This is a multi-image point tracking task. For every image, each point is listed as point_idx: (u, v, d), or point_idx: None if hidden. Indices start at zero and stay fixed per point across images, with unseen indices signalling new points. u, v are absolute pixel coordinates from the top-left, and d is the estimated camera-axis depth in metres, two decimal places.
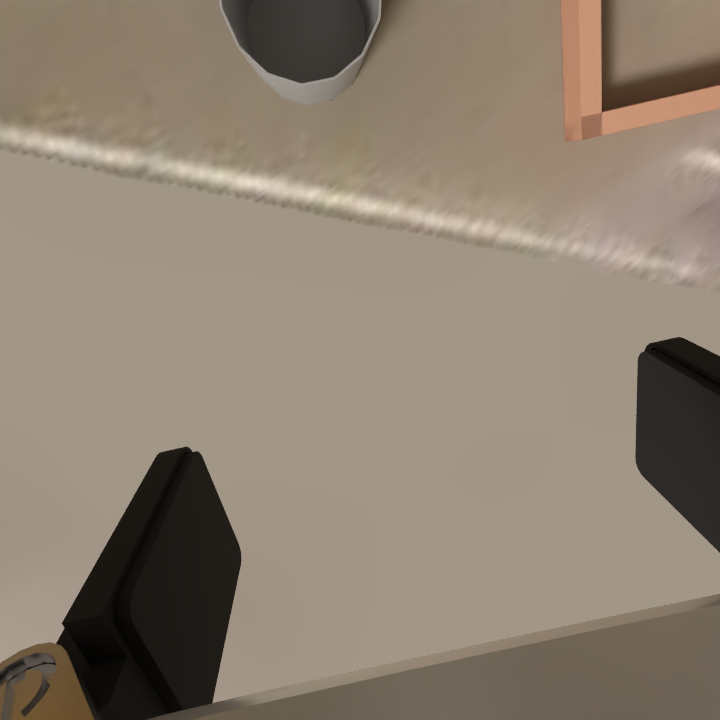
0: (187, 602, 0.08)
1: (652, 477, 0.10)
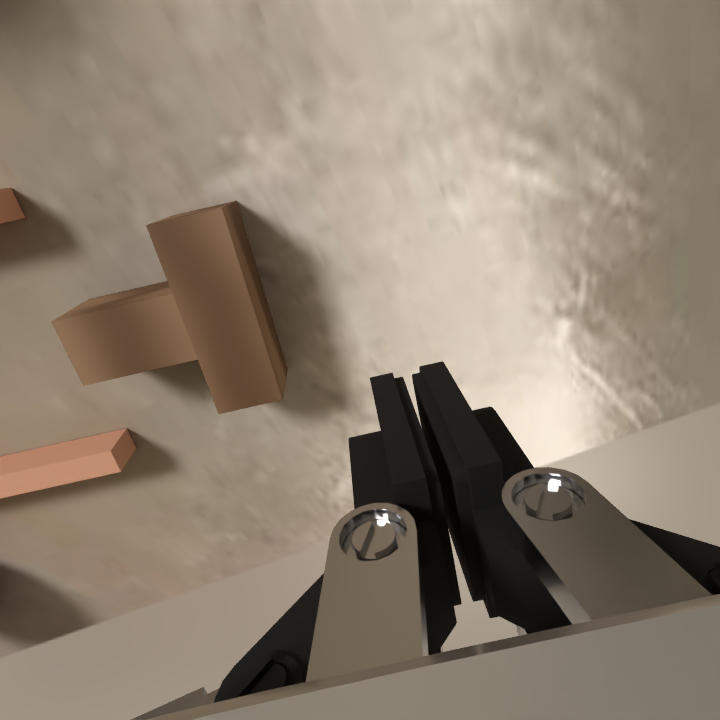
0: None
1: None
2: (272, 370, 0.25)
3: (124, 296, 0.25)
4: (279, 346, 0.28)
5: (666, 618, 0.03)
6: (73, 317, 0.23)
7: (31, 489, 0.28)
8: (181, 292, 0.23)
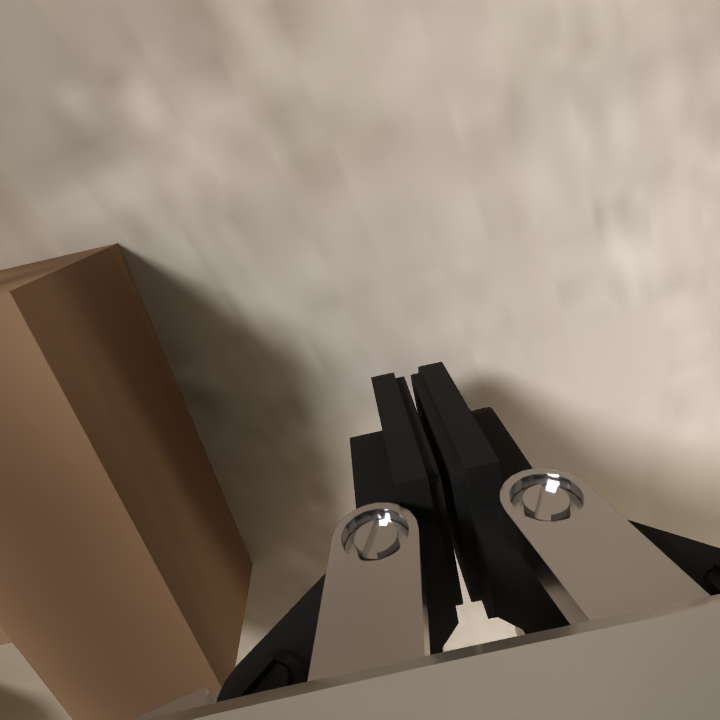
0: None
1: None
2: (201, 652, 0.10)
3: None
4: (233, 531, 0.14)
5: (666, 618, 0.03)
6: None
7: None
8: None
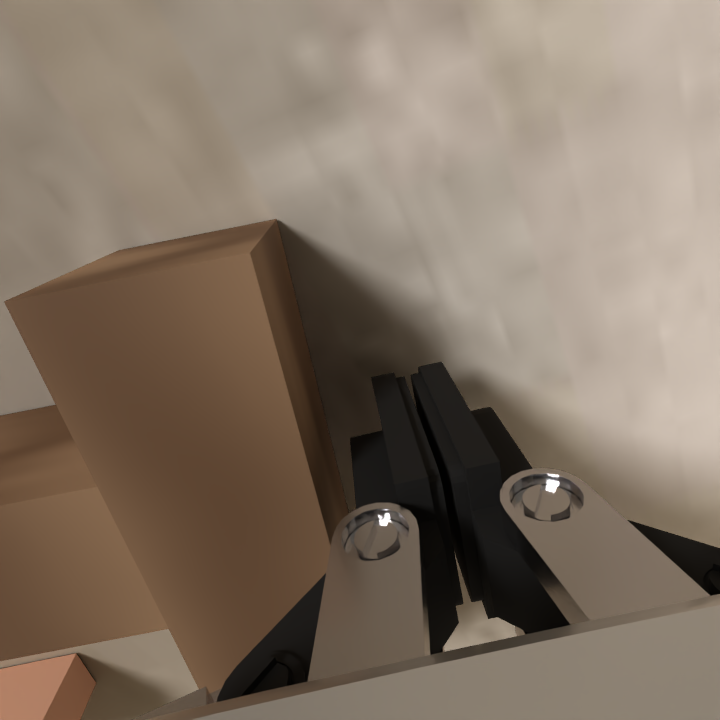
0: None
1: None
2: None
3: None
4: None
5: (666, 618, 0.03)
6: None
7: None
8: (123, 482, 0.08)
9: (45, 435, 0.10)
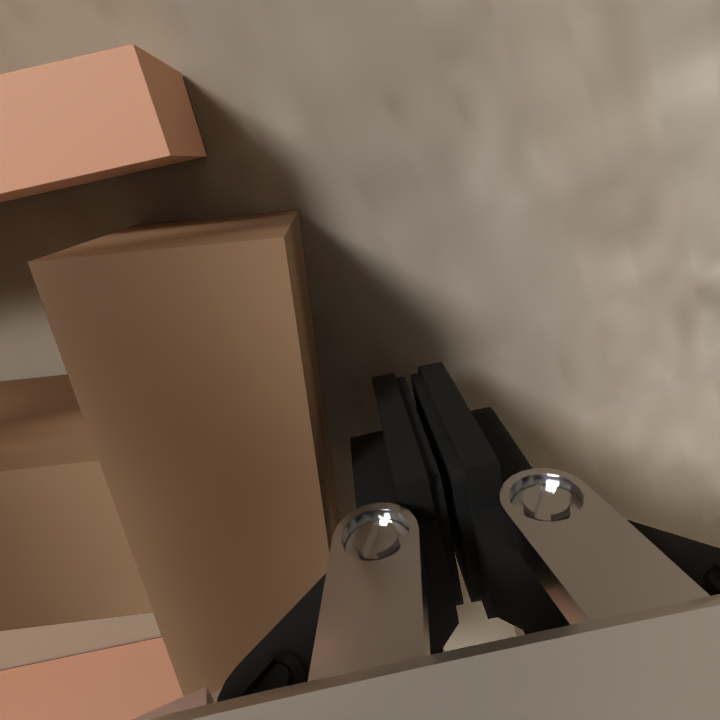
0: None
1: None
2: None
3: None
4: (337, 521, 0.13)
5: (666, 618, 0.03)
6: None
7: None
8: (125, 458, 0.08)
9: (41, 405, 0.10)
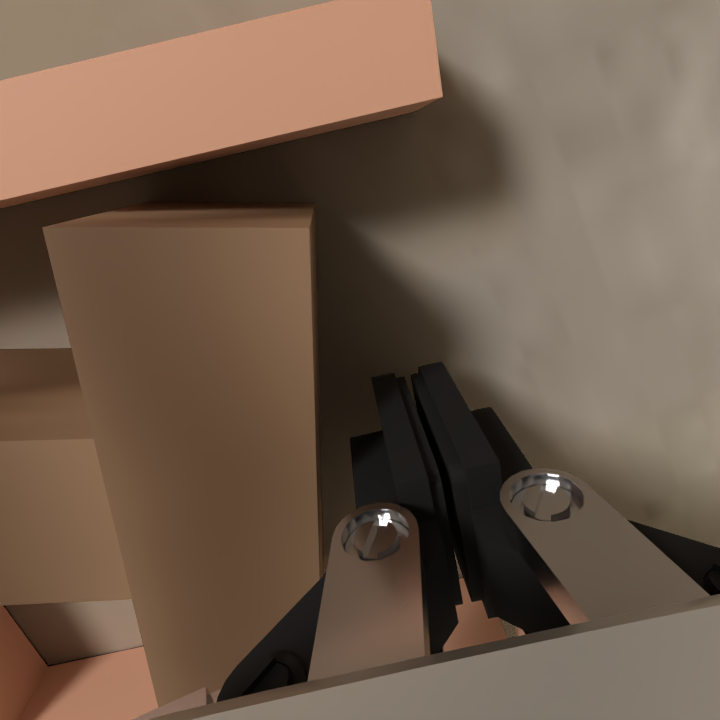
0: None
1: None
2: None
3: None
4: (322, 520, 0.13)
5: (666, 618, 0.03)
6: None
7: None
8: (121, 439, 0.08)
9: (33, 377, 0.10)
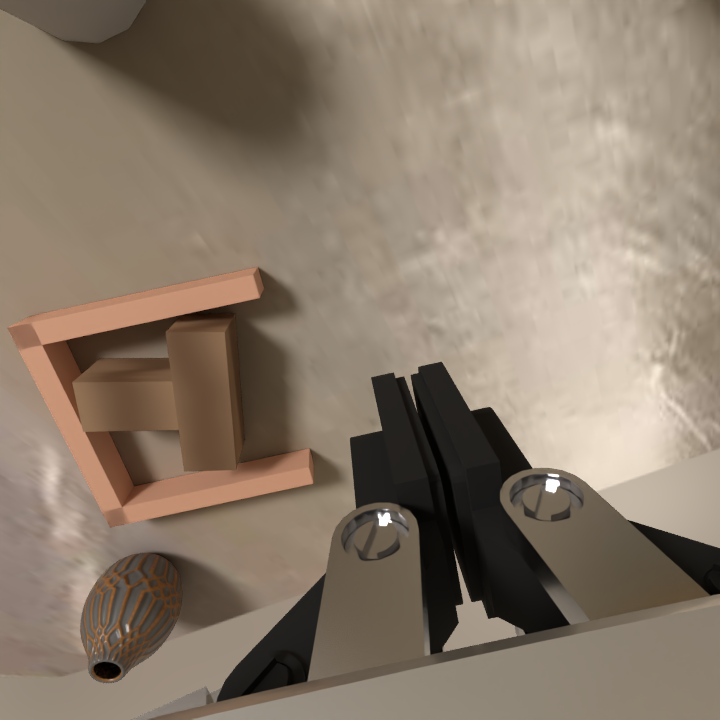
0: None
1: None
2: (234, 448, 0.32)
3: (131, 367, 0.32)
4: (242, 422, 0.35)
5: (666, 618, 0.03)
6: (90, 382, 0.29)
7: (241, 497, 0.35)
8: (179, 381, 0.30)
9: (148, 367, 0.32)
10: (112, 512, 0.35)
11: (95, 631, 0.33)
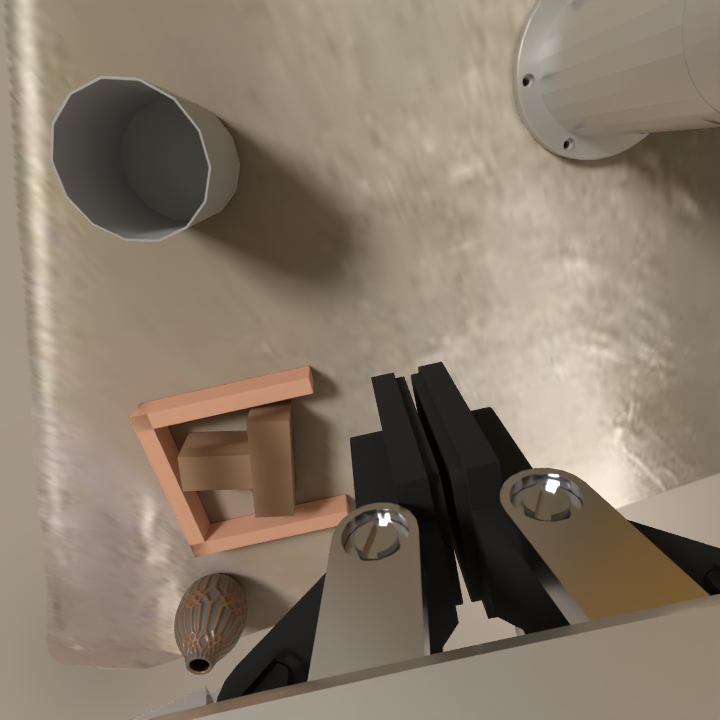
0: None
1: None
2: (292, 500, 0.43)
3: (215, 441, 0.42)
4: (295, 476, 0.46)
5: (666, 617, 0.03)
6: (190, 457, 0.40)
7: (295, 533, 0.46)
8: (254, 455, 0.41)
9: (228, 440, 0.42)
10: (197, 545, 0.46)
11: (189, 636, 0.44)
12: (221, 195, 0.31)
